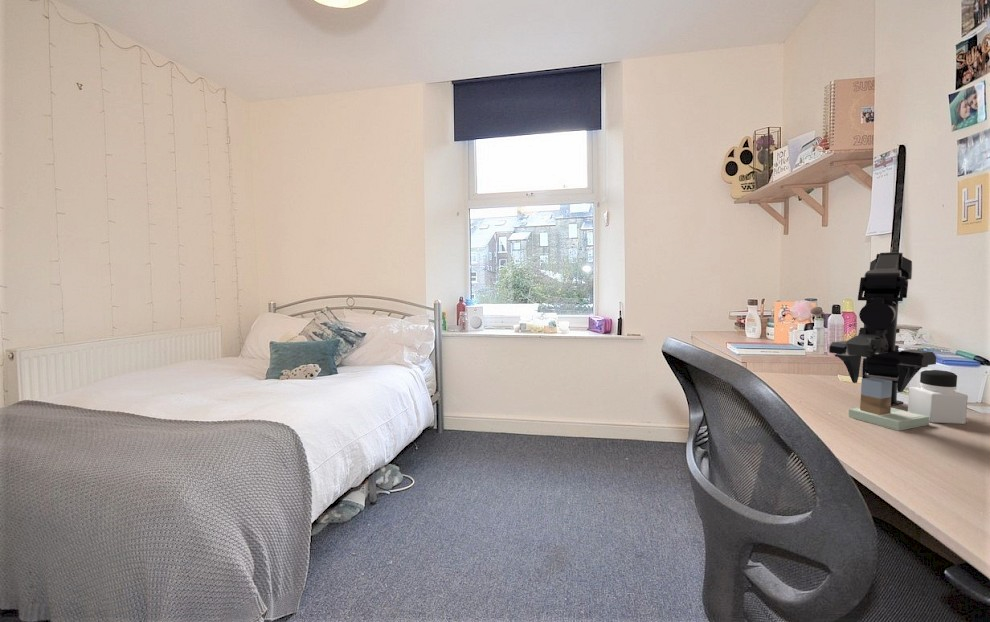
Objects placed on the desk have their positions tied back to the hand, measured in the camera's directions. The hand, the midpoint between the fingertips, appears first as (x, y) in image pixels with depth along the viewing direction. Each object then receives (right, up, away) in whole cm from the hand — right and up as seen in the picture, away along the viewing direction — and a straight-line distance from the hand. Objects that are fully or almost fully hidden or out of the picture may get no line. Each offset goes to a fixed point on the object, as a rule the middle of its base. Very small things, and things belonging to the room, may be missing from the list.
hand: (876, 387), depth 99 cm
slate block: (0, -2, 0) cm, 2 cm away
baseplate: (+2, -8, 0) cm, 9 cm away
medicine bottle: (+15, -8, +1) cm, 17 cm away
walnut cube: (0, -6, 0) cm, 6 cm away
